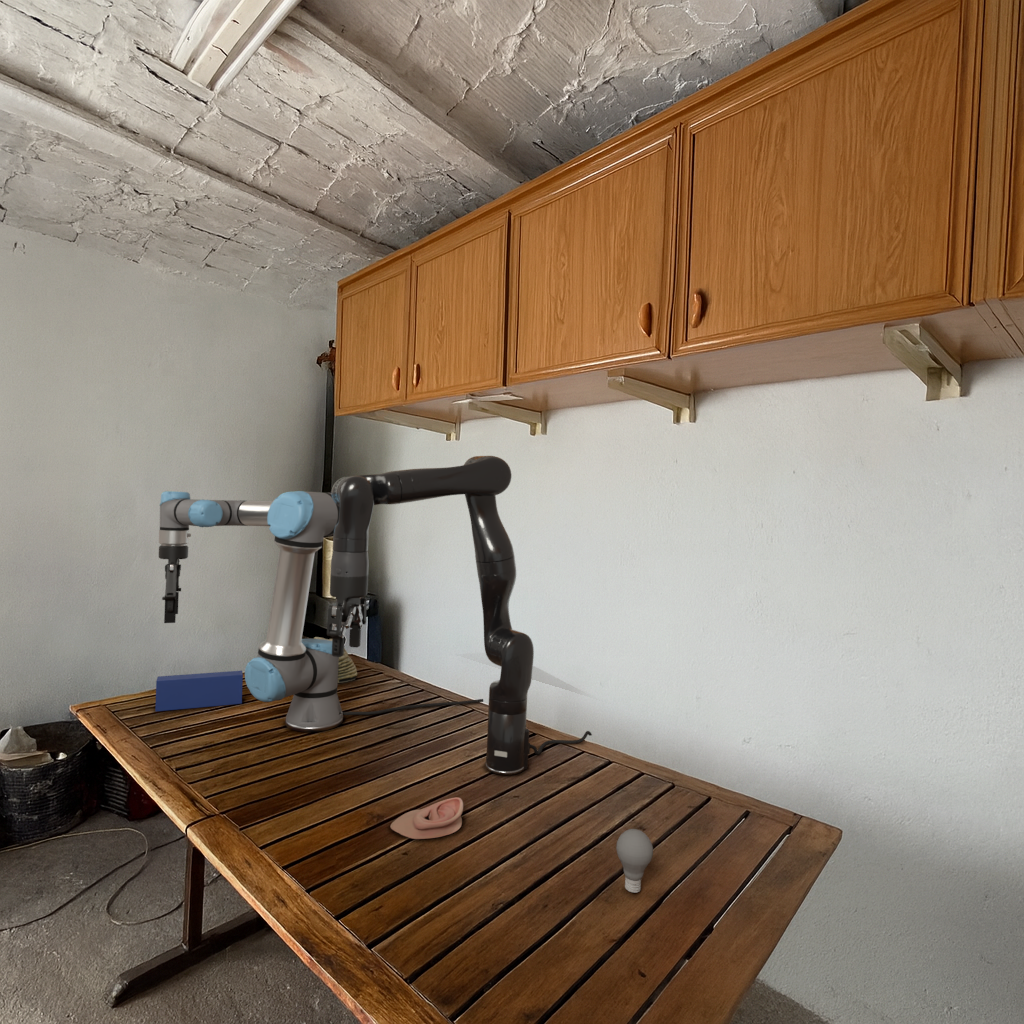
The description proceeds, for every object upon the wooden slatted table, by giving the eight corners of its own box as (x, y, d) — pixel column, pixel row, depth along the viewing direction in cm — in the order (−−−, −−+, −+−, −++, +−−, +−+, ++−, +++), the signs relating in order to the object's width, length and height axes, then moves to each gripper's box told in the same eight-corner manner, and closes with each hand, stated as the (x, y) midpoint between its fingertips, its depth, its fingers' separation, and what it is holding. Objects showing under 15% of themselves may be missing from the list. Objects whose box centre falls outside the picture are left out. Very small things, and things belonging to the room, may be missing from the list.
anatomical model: (384, 813, 120) (406, 787, 131) (383, 834, 120) (405, 806, 131) (452, 824, 117) (468, 796, 128) (451, 845, 117) (467, 815, 128)
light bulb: (610, 879, 108) (613, 822, 108) (644, 879, 109) (647, 822, 109) (619, 902, 102) (622, 840, 102) (655, 901, 103) (658, 840, 103)
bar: (155, 711, 180) (156, 681, 180) (156, 706, 184) (157, 676, 184) (241, 703, 189) (242, 674, 189) (241, 698, 194) (242, 670, 194)
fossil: (297, 682, 213) (299, 637, 212) (348, 673, 225) (349, 631, 225) (308, 688, 206) (310, 642, 206) (360, 679, 218) (361, 636, 218)
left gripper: (186, 548, 173) (183, 626, 173) (190, 541, 195) (187, 610, 196) (155, 548, 170) (152, 627, 170) (162, 541, 192) (159, 611, 192)
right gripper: (353, 578, 122) (349, 661, 123) (379, 570, 137) (376, 645, 137) (316, 575, 124) (313, 658, 124) (346, 568, 138) (343, 642, 138)
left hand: (171, 618), depth 183 cm, fingers open, 13 cm apart
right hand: (346, 651), depth 130 cm, fingers open, 8 cm apart
